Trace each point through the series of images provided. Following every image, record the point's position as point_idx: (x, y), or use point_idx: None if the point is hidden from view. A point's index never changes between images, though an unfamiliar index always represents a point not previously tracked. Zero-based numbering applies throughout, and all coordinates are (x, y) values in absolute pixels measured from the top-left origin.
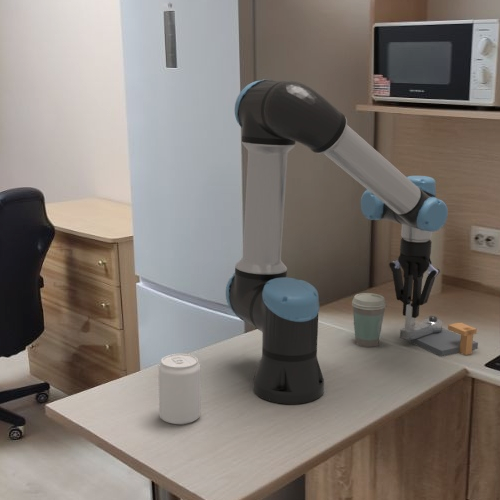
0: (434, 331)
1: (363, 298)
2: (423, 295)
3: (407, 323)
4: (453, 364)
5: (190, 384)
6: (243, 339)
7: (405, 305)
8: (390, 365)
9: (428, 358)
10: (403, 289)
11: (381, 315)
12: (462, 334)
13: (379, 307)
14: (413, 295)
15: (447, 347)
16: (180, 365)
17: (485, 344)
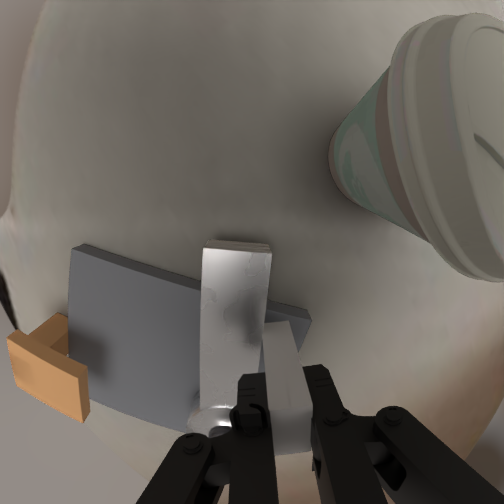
0: (198, 394)
1: None
2: (163, 496)
3: (279, 338)
4: (35, 213)
5: None
6: None
7: (325, 407)
8: (167, 36)
9: (101, 193)
10: (391, 492)
11: (372, 130)
12: (21, 335)
13: (403, 67)
14: (265, 483)
15: (80, 294)
16: None
17: (92, 413)
